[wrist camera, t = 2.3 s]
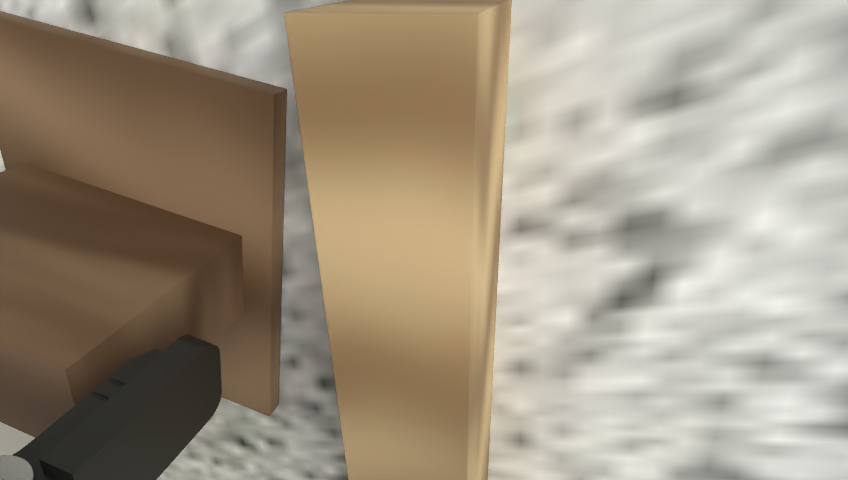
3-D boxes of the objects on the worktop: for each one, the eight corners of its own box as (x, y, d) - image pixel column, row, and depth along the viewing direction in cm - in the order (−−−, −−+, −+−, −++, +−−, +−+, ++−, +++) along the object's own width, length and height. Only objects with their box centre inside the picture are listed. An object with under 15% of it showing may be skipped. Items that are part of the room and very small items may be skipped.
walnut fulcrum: (-18, 6, 16) (-368, 38, 10) (286, 88, 14) (61, 184, 8) (62, 318, 22) (-127, 443, 16) (278, 404, 20) (148, 578, 14)
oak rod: (363, -3, 12) (284, 12, 9) (513, -3, 11) (477, 13, 8) (396, 464, 20) (358, 552, 17) (488, 488, 19) (464, 587, 16)
